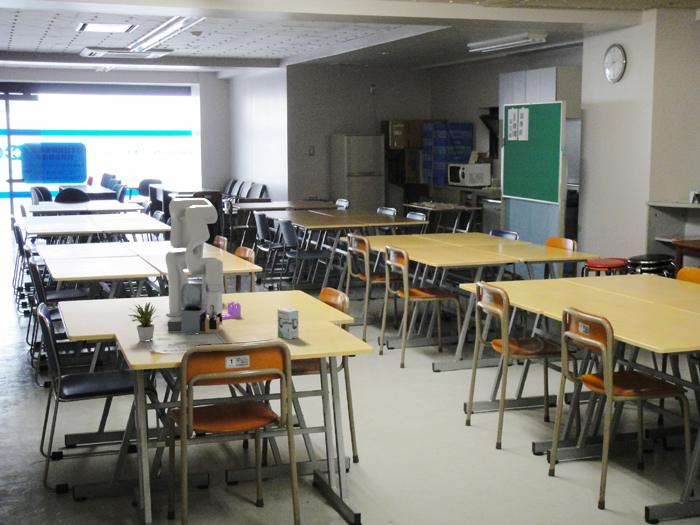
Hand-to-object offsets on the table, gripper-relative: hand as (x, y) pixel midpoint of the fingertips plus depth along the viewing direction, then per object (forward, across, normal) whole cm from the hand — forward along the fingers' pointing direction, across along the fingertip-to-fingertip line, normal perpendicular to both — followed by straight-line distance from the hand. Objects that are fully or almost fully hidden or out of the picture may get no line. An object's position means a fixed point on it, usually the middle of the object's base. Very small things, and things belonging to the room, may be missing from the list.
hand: (215, 326), depth 341 cm
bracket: (+2, -30, -3) cm, 31 cm away
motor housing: (+2, 0, -10) cm, 10 cm away
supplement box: (+2, -68, -20) cm, 71 cm away
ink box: (+2, +10, +33) cm, 35 cm away
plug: (+2, 0, -9) cm, 9 cm away
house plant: (+2, +18, -25) cm, 31 cm away
